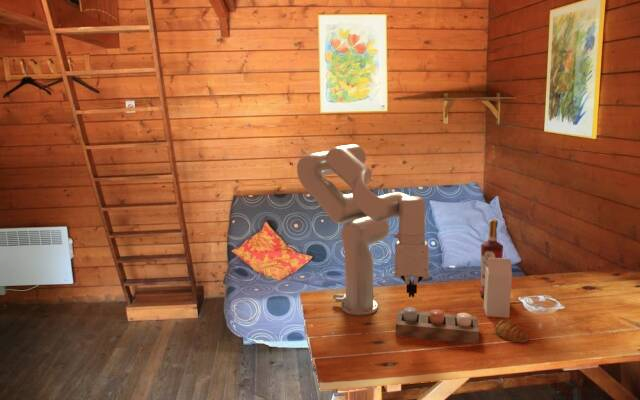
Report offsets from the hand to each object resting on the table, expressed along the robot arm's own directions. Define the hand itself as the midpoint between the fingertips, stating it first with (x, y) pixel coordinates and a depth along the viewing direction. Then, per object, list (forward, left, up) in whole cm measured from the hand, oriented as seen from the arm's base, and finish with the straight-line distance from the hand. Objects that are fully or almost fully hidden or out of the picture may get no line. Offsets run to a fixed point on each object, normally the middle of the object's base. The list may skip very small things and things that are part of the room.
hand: (411, 295), depth 147 cm
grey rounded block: (0, 0, -9) cm, 9 cm away
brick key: (+8, 0, -9) cm, 12 cm away
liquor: (+26, +30, -12) cm, 41 cm away
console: (+8, 0, -12) cm, 14 cm away
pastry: (+30, +3, -12) cm, 32 cm away
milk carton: (+27, +17, -12) cm, 34 cm away
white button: (+16, 0, -10) cm, 18 cm away
